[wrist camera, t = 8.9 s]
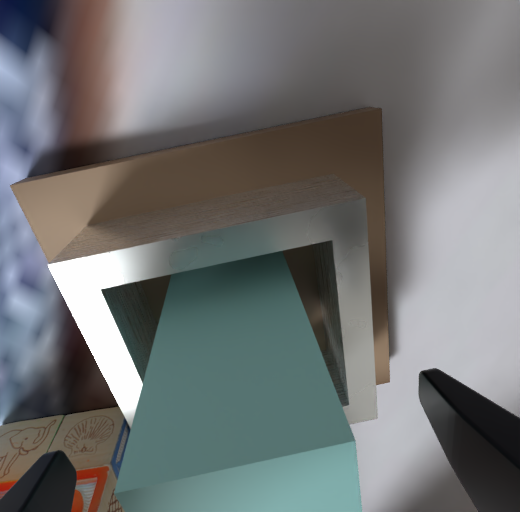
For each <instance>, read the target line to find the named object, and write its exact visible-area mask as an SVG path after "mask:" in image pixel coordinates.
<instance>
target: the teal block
mask: <svg viewBox="0 0 520 512" xmlns="http://www.w3.org/2000/svg"><path fill="white" fill-rule="evenodd" d="M114 495H115V496H116V498H117V500H118V501H119V503H120V504H121V506H122V508H123V509H124V511H125V512H362V505H361V495H360V485H359V474H358V464H357V454H356V443H355V439H354V436H353V434H352V431H351V428H350V426H349V423H348V421H347V418H346V415H345V413H344V410H343V408H342V405H341V402H340V400H339V397H338V395H337V392H336V389H335V387H334V384H333V382H332V379H331V376H330V374H329V371H328V369H327V366H326V363H325V361H324V358H323V356H322V353H321V350H320V348H319V345H318V343H317V340H316V337H315V335H314V332H313V330H312V327H311V324H310V322H309V319H308V317H307V314H306V311H305V309H304V306H303V304H302V301H301V298H300V296H299V293H298V291H297V288H296V285H295V283H294V280H293V278H292V275H291V272H290V270H289V267H288V265H287V262H286V259H285V257H284V254H283V252H282V251H278V252H274V253H269V254H264V255H259V256H255V257H250V258H245V259H240V260H236V261H231V262H226V263H222V264H217V265H212V266H207V267H203V268H198V269H193V270H189V271H184V272H179V273H174V274H171V278H170V282H169V286H168V289H167V293H166V297H165V301H164V305H163V308H162V312H161V316H160V320H159V324H158V327H157V331H156V335H155V339H154V343H153V347H152V350H151V354H150V358H149V362H148V366H147V369H146V373H145V377H144V381H143V385H142V388H141V392H140V396H139V400H138V404H137V407H136V411H135V415H134V419H133V423H132V427H131V430H130V434H129V438H128V442H127V446H126V449H125V453H124V457H123V461H122V465H121V468H120V472H119V476H118V480H117V484H116V487H115V491H114Z"/></svg>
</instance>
